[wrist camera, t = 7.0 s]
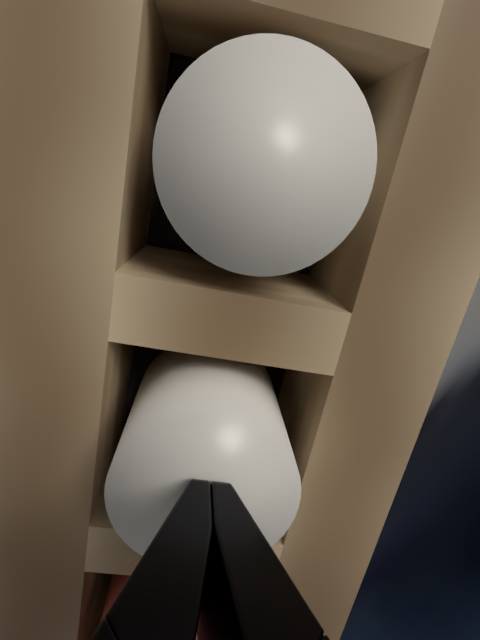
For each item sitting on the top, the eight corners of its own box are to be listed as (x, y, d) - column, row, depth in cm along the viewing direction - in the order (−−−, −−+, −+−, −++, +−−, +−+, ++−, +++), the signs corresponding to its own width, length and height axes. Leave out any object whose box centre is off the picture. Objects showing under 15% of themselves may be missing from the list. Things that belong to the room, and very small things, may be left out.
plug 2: (286, 348, 12) (322, 426, 8) (258, 462, 13) (277, 578, 9) (147, 326, 11) (114, 398, 7) (131, 446, 12) (95, 563, 8)
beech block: (463, 35, 11) (604, -49, 7) (279, 622, 17) (298, 747, 13) (75, -71, 9) (-18, -249, 6) (37, 605, 16) (-18, 736, 12)
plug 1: (337, 109, 10) (406, 66, 7) (300, 258, 12) (342, 292, 8) (185, 73, 10) (169, 4, 6) (163, 232, 11) (139, 256, 7)
